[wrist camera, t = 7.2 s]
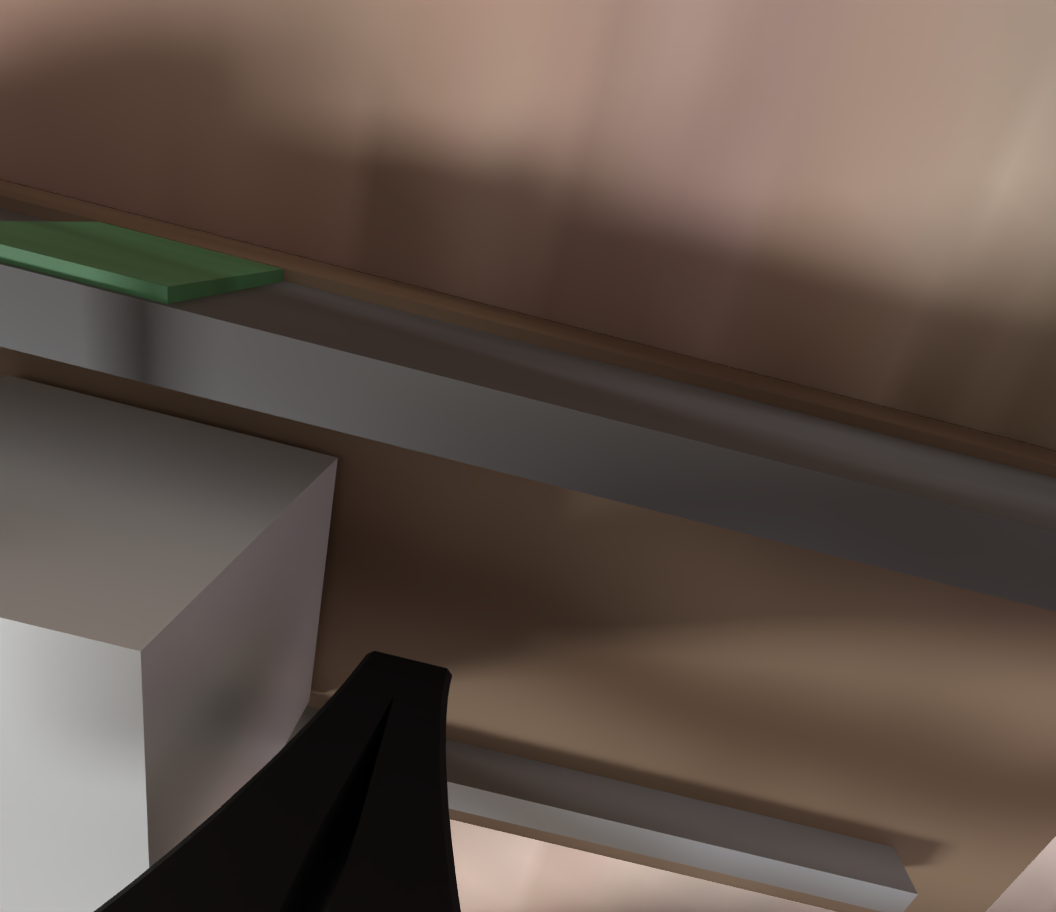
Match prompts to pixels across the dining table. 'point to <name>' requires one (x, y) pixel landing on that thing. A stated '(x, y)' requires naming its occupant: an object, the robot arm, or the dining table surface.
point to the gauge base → (615, 561)
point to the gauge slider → (142, 631)
